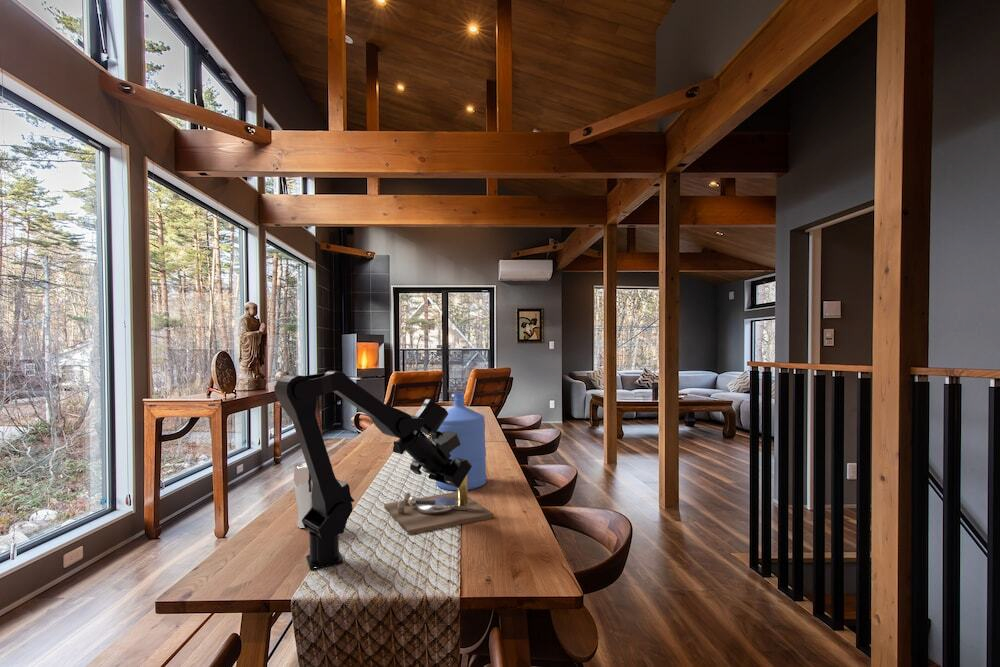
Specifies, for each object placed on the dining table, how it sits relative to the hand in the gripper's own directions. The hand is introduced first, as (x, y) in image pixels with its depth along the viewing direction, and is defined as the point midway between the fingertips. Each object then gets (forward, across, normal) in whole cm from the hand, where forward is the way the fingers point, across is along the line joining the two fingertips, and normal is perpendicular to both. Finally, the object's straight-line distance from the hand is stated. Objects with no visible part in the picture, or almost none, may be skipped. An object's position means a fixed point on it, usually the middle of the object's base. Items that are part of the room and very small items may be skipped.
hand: (458, 485), depth 131 cm
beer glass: (-15, +23, +26) cm, 38 cm away
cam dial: (+3, +7, +6) cm, 10 cm away
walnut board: (+4, +7, +7) cm, 11 cm away
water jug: (+19, +23, -8) cm, 31 cm away
